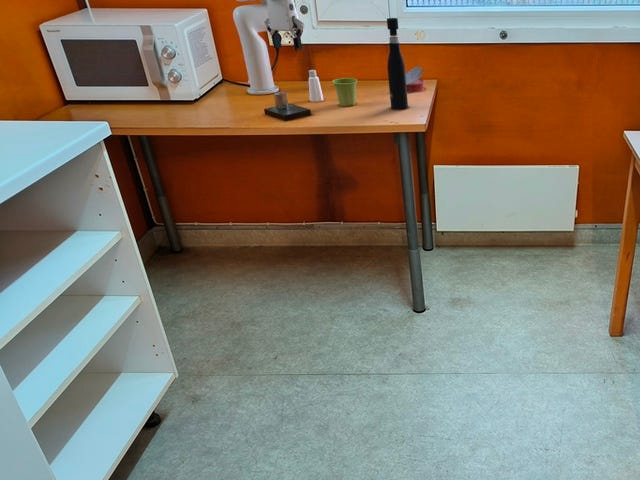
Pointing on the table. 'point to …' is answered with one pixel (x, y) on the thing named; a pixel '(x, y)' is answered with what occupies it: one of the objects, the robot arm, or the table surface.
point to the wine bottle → (396, 69)
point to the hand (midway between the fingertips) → (288, 48)
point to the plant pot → (346, 91)
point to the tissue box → (414, 80)
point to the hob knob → (281, 100)
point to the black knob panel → (288, 112)
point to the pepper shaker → (315, 87)
